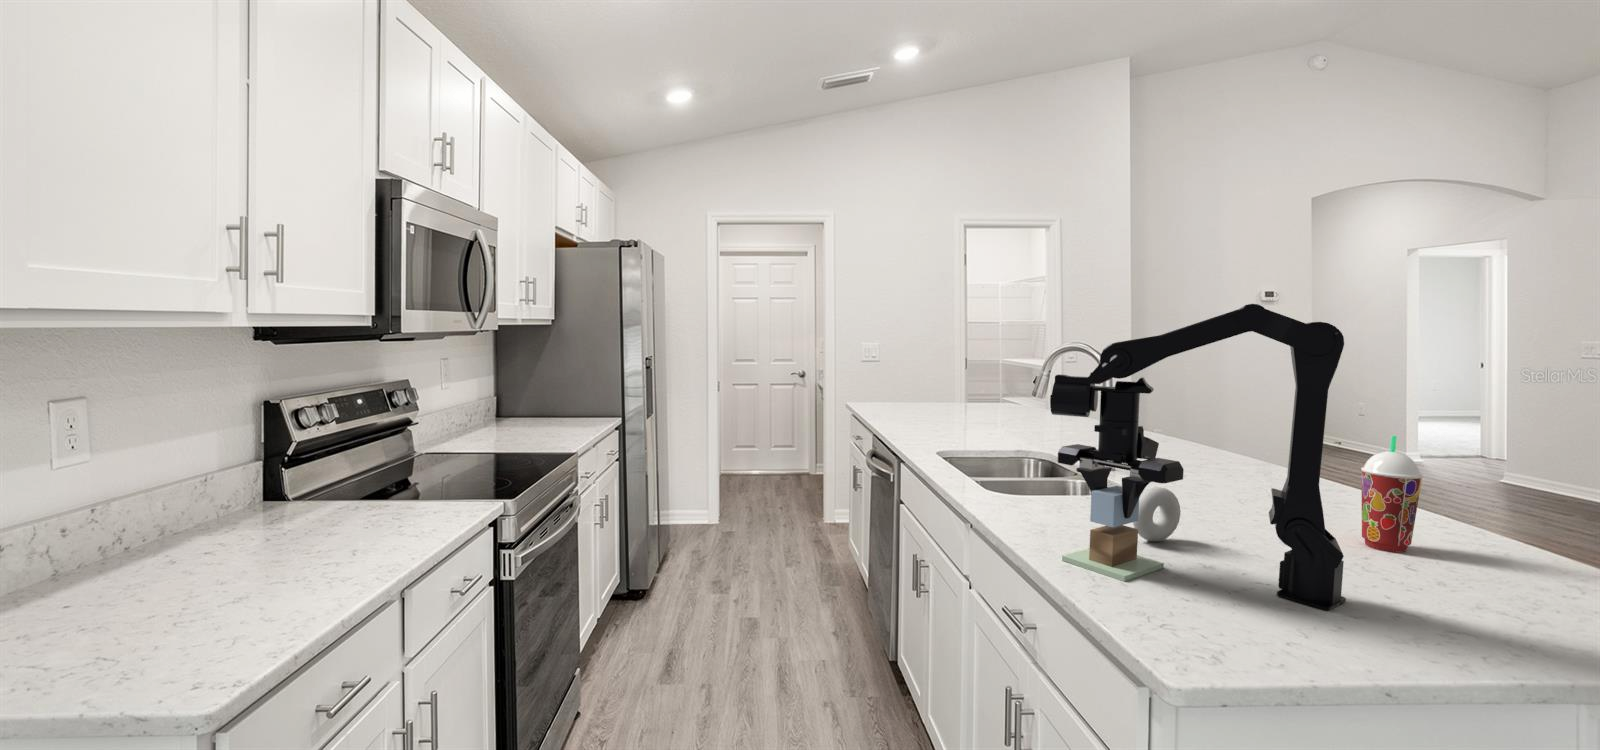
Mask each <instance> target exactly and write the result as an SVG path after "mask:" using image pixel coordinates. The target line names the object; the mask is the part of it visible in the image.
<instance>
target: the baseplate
mask: <svg viewBox="0 0 1600 750" xmlns="http://www.w3.org/2000/svg"><path fill="white" fill-rule="evenodd" d="M1089 549H1090V547H1089V548H1086V549H1081V550H1078V551H1074V552H1071V553H1070V552H1069V553H1067V554H1064V555H1061V556H1062V557H1061V561H1063V562H1064V563H1069V564H1072V565H1074V566H1077V567H1080V568H1082V569H1083V568H1084V569H1085V570H1086V569H1087V570H1090V571H1091V572H1095V573H1098V574H1101V575H1104V576H1107V577H1110V578H1113V579H1116V580H1119V581H1121V582H1126V581H1130V580H1132V579H1135V578H1138V577H1142V576H1145V575H1147V574H1150V573H1153V572H1157V571H1159V570H1161V569H1163V568H1164V565H1165V563H1164V562H1161V561H1157V560H1155V559H1151V558H1148V557H1144V556H1141V555H1138V554H1137V559H1136V560H1132V561H1129V562H1126V563H1123V564H1120V565H1117V566H1114V567H1110V566H1107V565H1104V564H1100V563H1097V562H1094V561H1091V560H1089Z"/></svg>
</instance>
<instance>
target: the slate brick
mask: <svg viewBox="0 0 1600 750" xmlns="http://www.w3.org/2000/svg"><path fill="white" fill-rule="evenodd" d="M1090 493H1091V495H1090V516H1089V517H1090V518H1089V520H1090V521H1089V522H1092V523H1095V524H1099V525H1102V526H1109V527H1117V526H1121V525H1124V526H1125V525H1127V524H1131V523H1132V524H1133V522H1136V521H1138V514H1139V500H1138V502H1137V504H1136V506H1135V508H1134V511H1133V513H1132V515H1131V517H1130V518H1125V517H1124V512H1123V497H1122V486H1119V485H1114V486H1109V487H1108V486H1107V488H1104V489H1099V490H1094V491H1090Z"/></svg>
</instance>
